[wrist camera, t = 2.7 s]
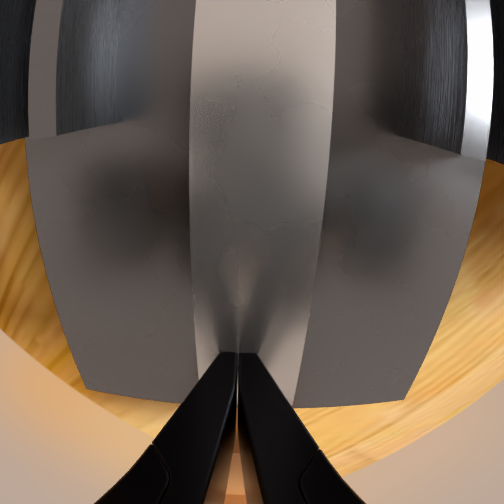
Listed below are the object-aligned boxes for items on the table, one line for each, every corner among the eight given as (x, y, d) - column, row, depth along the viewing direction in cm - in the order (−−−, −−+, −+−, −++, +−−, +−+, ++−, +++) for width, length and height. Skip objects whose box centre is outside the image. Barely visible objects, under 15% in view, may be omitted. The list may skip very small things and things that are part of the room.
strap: (215, -130, 3) (211, -150, 2) (326, -123, 3) (334, -143, 2) (199, 379, 9) (195, 405, 8) (294, 383, 9) (298, 408, 8)
